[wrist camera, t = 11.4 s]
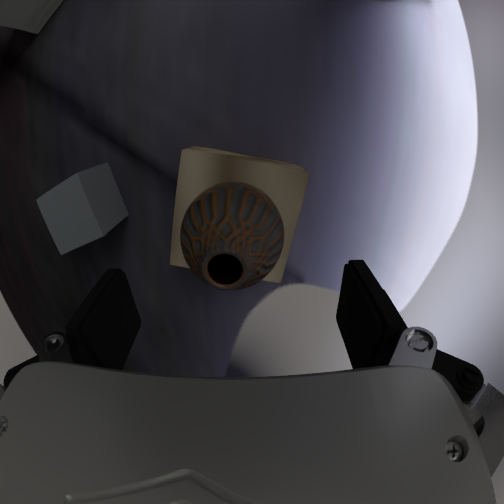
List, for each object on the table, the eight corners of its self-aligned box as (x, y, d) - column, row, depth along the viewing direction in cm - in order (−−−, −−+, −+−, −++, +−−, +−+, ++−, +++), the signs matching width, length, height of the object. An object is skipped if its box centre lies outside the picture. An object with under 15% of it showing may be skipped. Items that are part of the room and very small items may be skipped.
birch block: (298, 164, 25) (310, 173, 20) (275, 257, 29) (280, 283, 24) (193, 145, 24) (181, 150, 19) (181, 242, 28) (169, 264, 23)
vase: (294, 233, 22) (314, 293, 14) (221, 269, 24) (206, 339, 16) (253, 158, 20) (251, 176, 12) (177, 202, 21) (134, 246, 13)
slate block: (108, 162, 24) (77, 172, 18) (129, 214, 26) (103, 236, 21) (68, 184, 24) (36, 199, 19) (88, 231, 27) (61, 255, 21)
